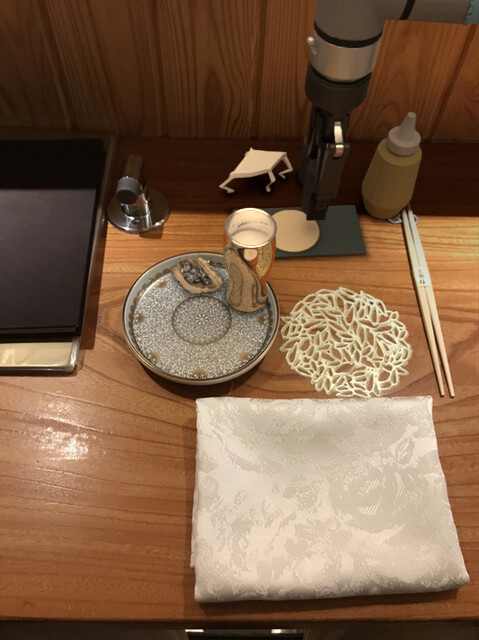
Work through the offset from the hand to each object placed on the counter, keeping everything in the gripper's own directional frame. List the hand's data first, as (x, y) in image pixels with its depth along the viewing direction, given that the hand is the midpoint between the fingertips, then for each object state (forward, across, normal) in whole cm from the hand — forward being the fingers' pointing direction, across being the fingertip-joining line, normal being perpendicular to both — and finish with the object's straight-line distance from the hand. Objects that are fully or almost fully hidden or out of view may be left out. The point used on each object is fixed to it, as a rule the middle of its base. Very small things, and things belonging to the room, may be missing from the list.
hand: (313, 206), depth 84 cm
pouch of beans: (+6, +8, -18) cm, 20 cm away
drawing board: (+6, 0, -2) cm, 6 cm away
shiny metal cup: (+6, +12, -11) cm, 17 cm away
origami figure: (+6, -11, -8) cm, 15 cm away
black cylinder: (0, 0, 0) cm, 0 cm away
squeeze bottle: (+6, -5, +13) cm, 15 cm away
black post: (+6, -12, +2) cm, 13 cm away
